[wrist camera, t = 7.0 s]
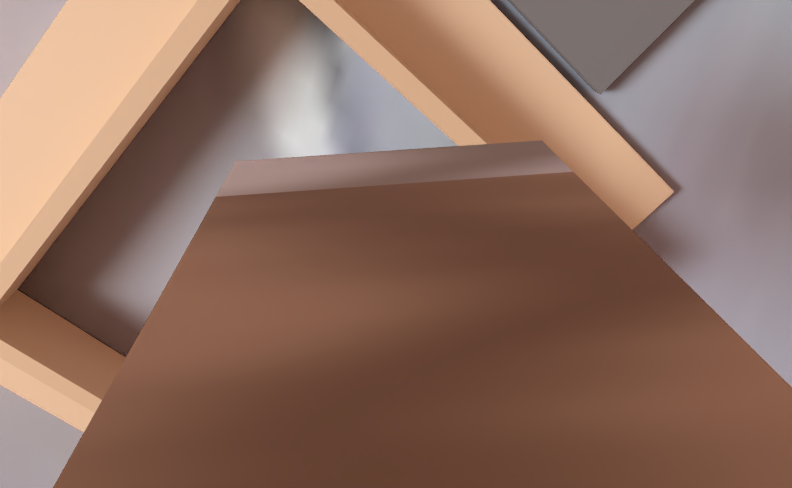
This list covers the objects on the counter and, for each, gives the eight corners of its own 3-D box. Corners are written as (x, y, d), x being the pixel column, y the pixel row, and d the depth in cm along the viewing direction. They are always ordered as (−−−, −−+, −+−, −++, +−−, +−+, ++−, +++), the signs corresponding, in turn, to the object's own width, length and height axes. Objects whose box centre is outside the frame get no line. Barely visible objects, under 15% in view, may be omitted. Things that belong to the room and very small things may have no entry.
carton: (670, 188, 22) (707, 214, 20) (286, 541, 28) (280, 593, 25) (244, -253, 17) (227, -287, 14) (-135, 300, 22) (-191, 339, 20)
